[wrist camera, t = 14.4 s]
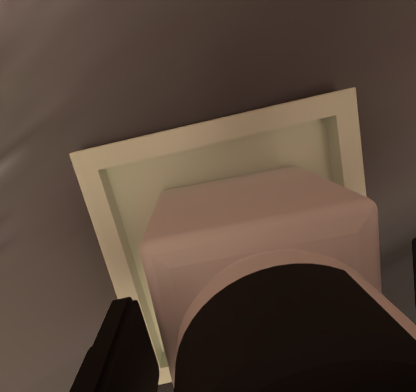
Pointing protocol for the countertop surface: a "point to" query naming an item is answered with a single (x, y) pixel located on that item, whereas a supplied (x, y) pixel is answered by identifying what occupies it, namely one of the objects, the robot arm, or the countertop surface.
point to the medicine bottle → (274, 288)
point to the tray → (208, 174)
